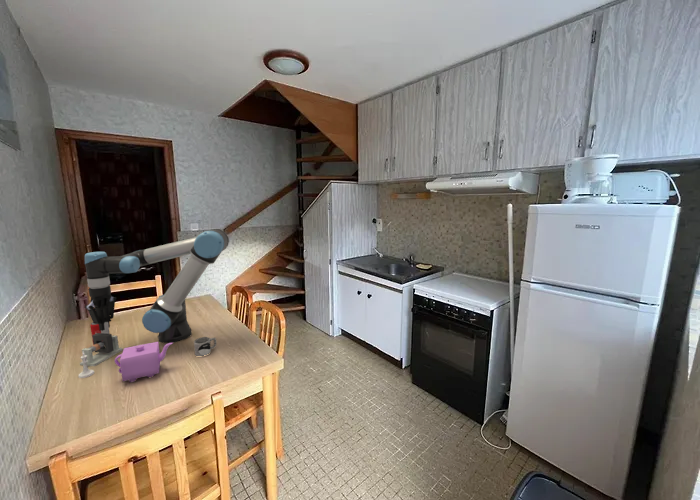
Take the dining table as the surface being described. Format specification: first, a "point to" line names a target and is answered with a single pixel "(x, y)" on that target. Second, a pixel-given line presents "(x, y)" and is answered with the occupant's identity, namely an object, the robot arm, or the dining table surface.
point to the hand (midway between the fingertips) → (105, 335)
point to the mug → (203, 346)
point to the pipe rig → (100, 356)
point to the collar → (107, 341)
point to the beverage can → (94, 329)
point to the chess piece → (85, 368)
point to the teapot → (140, 361)
